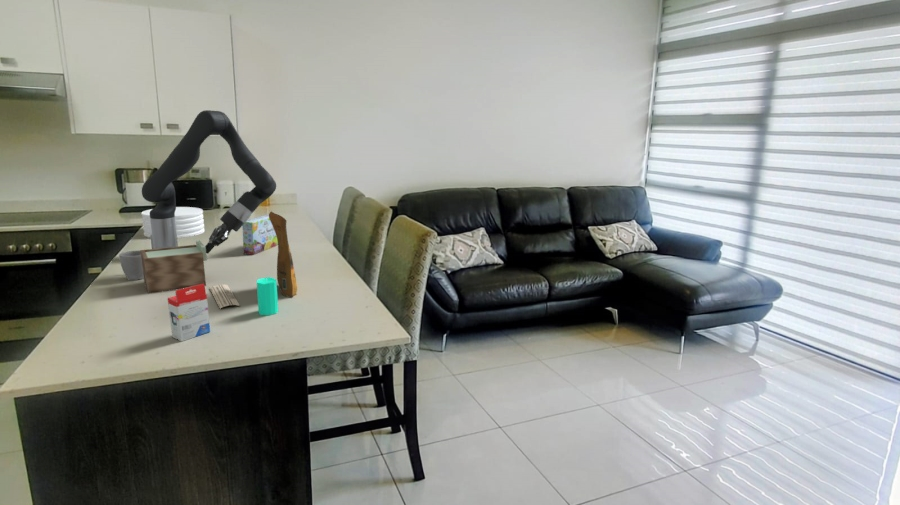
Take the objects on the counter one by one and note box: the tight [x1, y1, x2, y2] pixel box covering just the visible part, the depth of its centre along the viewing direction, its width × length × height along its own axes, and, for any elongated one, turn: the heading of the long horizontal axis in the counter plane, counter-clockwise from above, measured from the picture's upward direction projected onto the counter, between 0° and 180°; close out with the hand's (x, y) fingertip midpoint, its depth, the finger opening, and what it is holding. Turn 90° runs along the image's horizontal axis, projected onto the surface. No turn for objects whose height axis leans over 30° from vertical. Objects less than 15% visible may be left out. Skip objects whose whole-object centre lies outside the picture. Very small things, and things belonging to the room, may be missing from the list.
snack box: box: [241, 214, 278, 256], centre depth 232 cm, size 21×6×15 cm, turn 168°
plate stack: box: [141, 206, 206, 239], centre depth 260 cm, size 28×28×12 cm
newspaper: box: [209, 284, 241, 310], centre depth 170 cm, size 24×7×2 cm, turn 32°
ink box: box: [167, 284, 211, 342], centre depth 138 cm, size 8×5×15 cm, turn 145°
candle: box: [256, 275, 279, 316], centre depth 157 cm, size 6×6×12 cm
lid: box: [146, 239, 208, 262], centre depth 179 cm, size 18×12×5 cm, turn 126°
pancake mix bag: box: [268, 210, 298, 298], centre depth 175 cm, size 7×19×28 cm, turn 27°
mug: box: [118, 250, 144, 281], centre depth 187 cm, size 12×9×10 cm
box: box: [139, 244, 207, 294], centre depth 180 cm, size 18×14×12 cm
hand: (204, 251), depth 185 cm, fingers closed
